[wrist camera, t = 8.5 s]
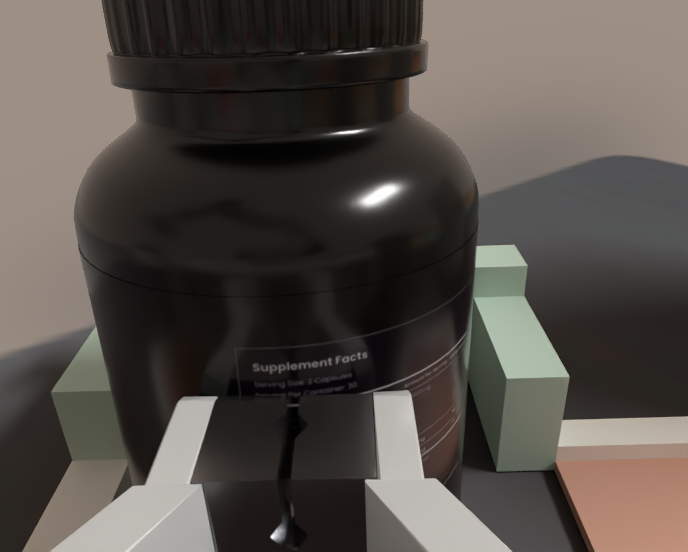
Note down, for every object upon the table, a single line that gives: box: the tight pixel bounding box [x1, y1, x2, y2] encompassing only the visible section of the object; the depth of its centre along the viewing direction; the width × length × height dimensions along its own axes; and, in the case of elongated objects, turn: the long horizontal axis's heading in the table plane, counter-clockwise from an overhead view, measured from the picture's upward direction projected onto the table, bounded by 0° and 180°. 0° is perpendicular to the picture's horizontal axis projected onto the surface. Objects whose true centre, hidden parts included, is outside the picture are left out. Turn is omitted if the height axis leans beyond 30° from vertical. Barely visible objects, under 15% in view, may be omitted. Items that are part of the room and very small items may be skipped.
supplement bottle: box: [74, 0, 478, 552], centre depth 11 cm, size 7×7×12 cm
